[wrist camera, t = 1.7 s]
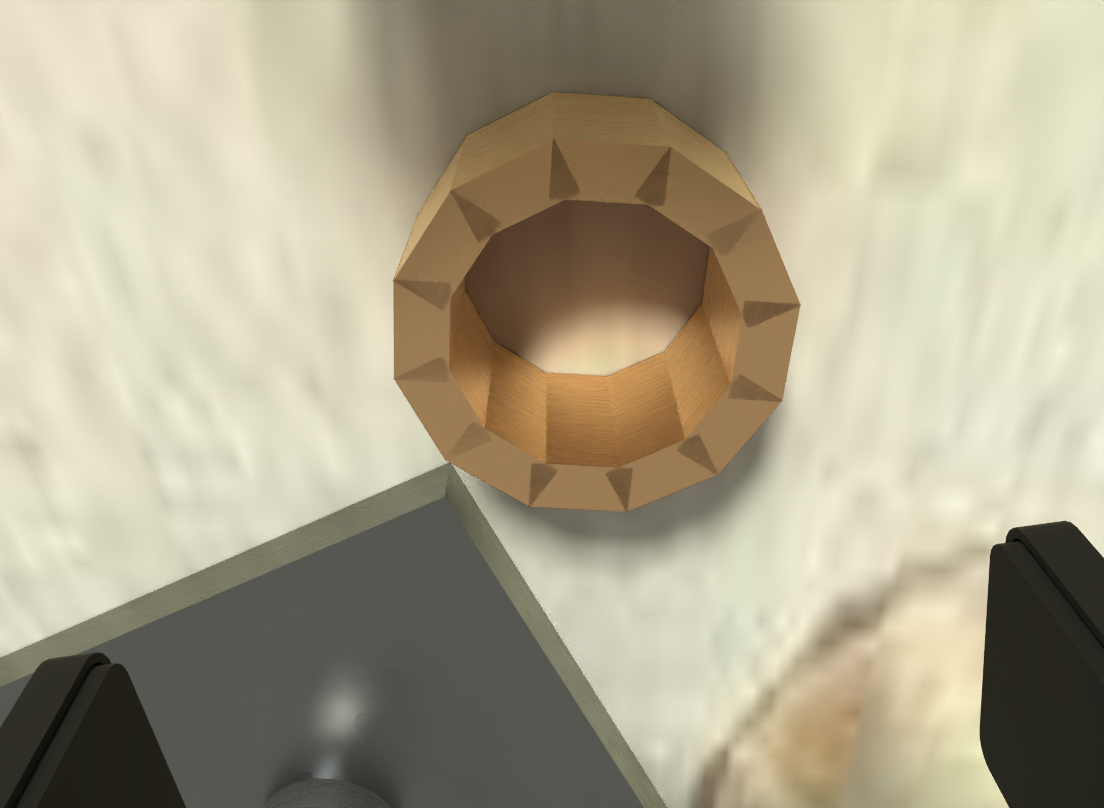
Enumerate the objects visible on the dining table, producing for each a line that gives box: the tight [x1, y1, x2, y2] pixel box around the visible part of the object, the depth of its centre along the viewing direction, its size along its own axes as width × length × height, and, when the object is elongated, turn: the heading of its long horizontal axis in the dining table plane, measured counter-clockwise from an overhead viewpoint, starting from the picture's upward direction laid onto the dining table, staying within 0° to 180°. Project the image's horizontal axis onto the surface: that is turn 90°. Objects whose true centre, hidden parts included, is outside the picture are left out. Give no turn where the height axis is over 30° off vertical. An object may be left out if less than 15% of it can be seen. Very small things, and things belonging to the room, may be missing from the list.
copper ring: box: [393, 92, 801, 512], centre depth 20 cm, size 7×7×4 cm
